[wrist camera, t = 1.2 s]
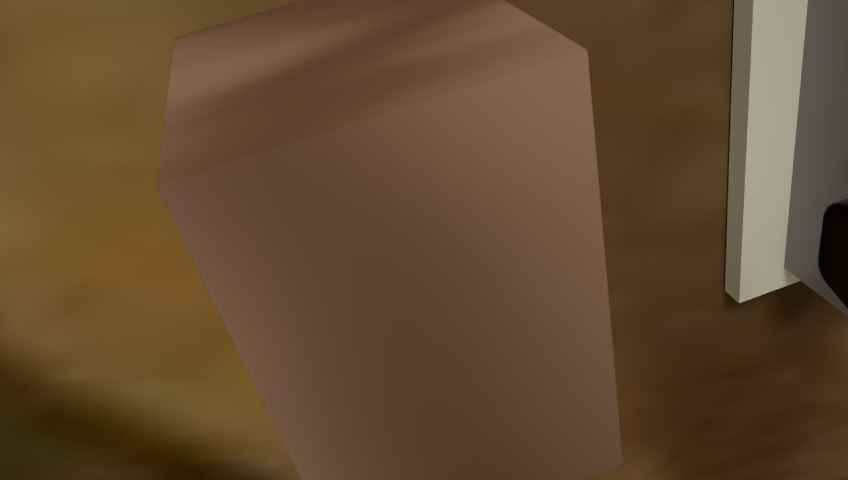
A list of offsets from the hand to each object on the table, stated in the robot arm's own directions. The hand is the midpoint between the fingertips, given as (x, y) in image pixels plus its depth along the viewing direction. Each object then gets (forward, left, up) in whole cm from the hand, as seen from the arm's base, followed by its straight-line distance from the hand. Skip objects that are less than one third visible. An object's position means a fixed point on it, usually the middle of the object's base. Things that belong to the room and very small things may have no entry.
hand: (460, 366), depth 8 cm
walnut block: (0, 0, -5) cm, 5 cm away
